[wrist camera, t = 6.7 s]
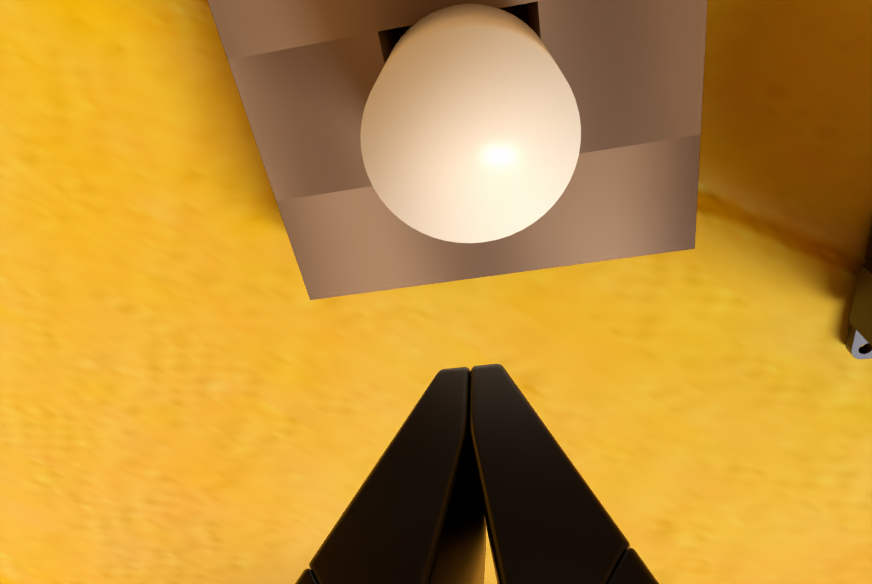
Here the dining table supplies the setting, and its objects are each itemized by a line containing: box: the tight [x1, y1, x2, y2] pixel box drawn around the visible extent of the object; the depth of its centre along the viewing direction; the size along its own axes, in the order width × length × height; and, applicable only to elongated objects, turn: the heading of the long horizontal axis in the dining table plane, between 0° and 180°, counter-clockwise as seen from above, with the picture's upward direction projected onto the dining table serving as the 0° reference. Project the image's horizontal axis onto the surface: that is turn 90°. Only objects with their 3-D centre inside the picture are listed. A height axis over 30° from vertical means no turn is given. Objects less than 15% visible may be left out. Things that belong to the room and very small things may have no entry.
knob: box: [360, 4, 581, 243], centre depth 15 cm, size 5×5×6 cm
